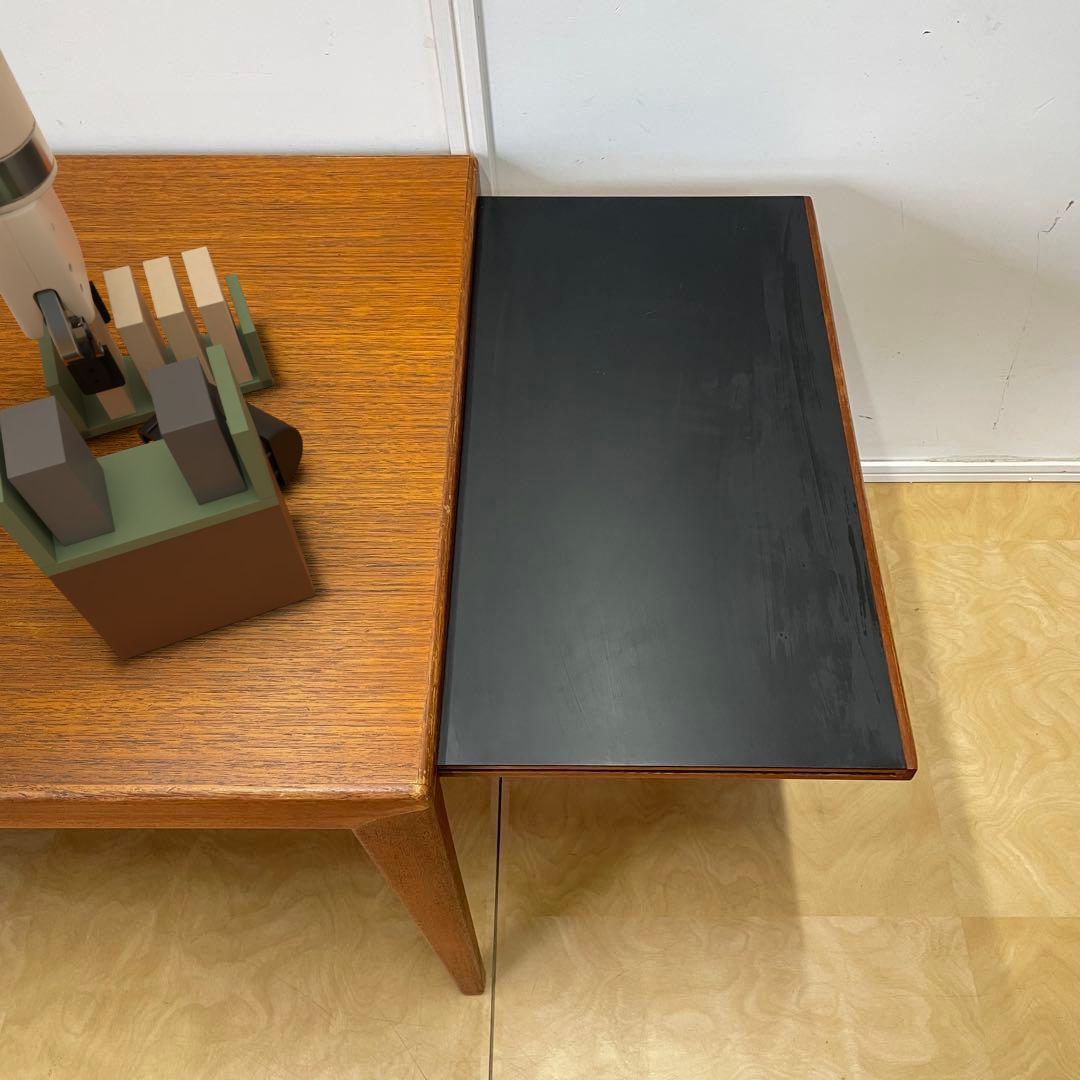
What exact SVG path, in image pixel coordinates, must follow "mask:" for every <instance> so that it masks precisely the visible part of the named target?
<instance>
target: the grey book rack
mask: <svg viewBox="0 0 1080 1080" xmlns="http://www.w3.org/2000/svg"><path fill="white" fill-rule="evenodd" d="M206 352H207V355H208V359H209V362H210V365H211V369H212V372H213V376H214V379H215V382H216V386H217V389H218V392H219V396H220V399H221V403H222V406H223V409H224V413H225V416H226V420H227V421H226V420H225V418H224V416H223V413H222V411H221V409H220V407H219V404H218V402H217V400H216V397H215V395H214V393H213V391H212V388H211V386H210V384H209V381H208V379H207V377H206V374H205V372H204V370H203V368H202V365H201V363H200V361H199V358H198V357H193V358H189V359H186V360H182V361H178V362H175V363H171V364H167V365H164V366H160V367H156V368H153V369H149V370H146V371H145V372H146V376H147V380H148V384H149V388H150V392H151V396H152V400H153V405H154V409H155V413H156V417H157V421H158V425H159V429H160V433H161V436H162V437H163V439H161V440H158V441H150V442H149V443H147V444H144V443H143V444H141V445H137V446H134V447H131V448H127V449H123V450H120V451H116V452H113V453H110V454H107V455H106V454H105V455H102V456H99V457H96V455H94V453H93V452H92V450H91V449H90V447H89V446H88V444H87V442H86V441H85V439H84V440H83V438H82V437H81V435H80V434H79V432H78V431H77V429H76V428H75V426H74V424H73V423H72V421H71V420H70V418H69V417H68V415H67V414H66V412H65V411H64V409H63V408H62V406H61V405H60V403H59V402H58V400H57V399H56V397H55V396H51V395H50V396H47V397H43V398H39V399H35V400H32V401H27V402H24V403H21V404H18V405H17V404H16V405H14V406H10V407H6V408H2V409H0V526H1V528H2V529H3V530H4V531H5V532H6V533H7V534H8V535H9V537H10V538H11V539H12V540H13V541H14V542H15V543H16V544H17V546H19V548H20V549H21V550H22V551H23V553H25V554H26V555H27V557H29V559H31V561H32V563H34V564H35V566H37V567H38V569H39V570H40V571H41V572H42V574H44V575H45V576H46V577H47V579H48V580H49V581H51V583H52V584H53V585H54V586H55V587H56V588H57V589H58V591H60V593H61V594H62V595H63V596H64V597H65V598H66V599H67V601H68V602H70V604H71V605H72V606H73V607H74V608H75V609H76V611H77V612H78V613H79V614H80V615H81V616H82V617H83V618H84V619H85V620H86V621H87V622H88V624H89V625H90V626H91V627H92V628H93V629H94V630H95V632H97V634H98V635H99V636H100V637H101V638H102V639H103V640H104V642H105V643H106V644H107V645H108V646H109V647H110V648H111V649H112V650H113V651H114V653H116V655H117V656H118V657H119V658H120V659H121V660H122V661H125V660H128V659H130V658H133V657H137V656H139V655H143V654H146V653H148V652H151V651H154V650H158V649H160V648H163V647H166V646H169V645H172V644H175V643H178V642H181V641H184V640H187V639H191V638H193V637H196V636H199V635H202V634H204V633H208V632H211V631H213V630H217V629H220V628H222V627H226V626H229V625H232V624H235V623H237V622H240V621H243V620H247V619H250V618H253V617H256V616H258V615H261V614H264V613H268V612H271V611H273V610H276V609H280V608H282V607H285V606H289V605H290V604H295V603H297V602H301V601H303V600H306V599H309V598H311V597H312V598H313V597H316V595H317V593H316V589H315V586H314V583H313V580H312V577H311V574H310V570H309V568H308V565H307V561H306V559H305V555H304V552H303V548H302V545H301V543H300V540H299V536H298V533H297V531H296V527H295V524H294V520H293V519H292V516H291V513H290V511H289V508H288V506H287V503H286V501H285V499H284V498H285V497H284V496H283V493H282V491H280V488H279V486H278V483H277V480H276V478H275V475H274V473H273V470H272V468H271V465H270V463H269V460H268V458H267V455H266V453H265V450H264V448H263V445H262V443H261V440H260V438H259V435H258V433H257V430H256V428H255V425H254V422H253V420H252V417H251V415H250V412H249V410H248V407H247V405H246V402H247V401H246V400H245V396H244V394H242V392H241V390H240V387H239V385H238V382H237V380H236V377H235V374H234V372H233V369H232V367H231V364H230V362H229V359H228V357H227V354H226V352H225V349H224V347H223V344H218V345H215V346H211V347H207V348H206Z"/></svg>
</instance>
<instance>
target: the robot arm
mask: <svg viewBox="0 0 1080 1080" xmlns="http://www.w3.org/2000/svg"><path fill="white" fill-rule="evenodd" d="M54 155H55V154H54V153H53V152H52V150H51V148H50V145H49V144H48V142H47V140H46V137H45V136H44V134H43V131H42V130H41V127H40V126H39V124H38V122H37V119H36V118H35V116H34V114H33V111H32V109H31V107H30V105H29V103H28V101H27V100H26V97H25V95H24V93H23V91H22V90H21V87H20V85H19V83H18V81H17V79H16V77H15V76H14V73H13V71H12V69H11V67H10V65H9V63H8V61H7V59H6V57H5V55H4V53H3V51H2V50H1V48H0V295H1V298H2V299H3V300H4V302H5V304H6V306H7V307H8V309H9V312H11V314H12V316H13V318H14V319H15V321H16V323H17V324H18V326H19V328H20V330H21V332H22V333H23V334H24V336H25V337H27V338H28V339H30V340H32V341H36V340H38V338H42V337H44V323H45V325H46V327H47V329H48V331H49V333H50V336H51V338H52V340H53V342H54V344H55V346H56V348H57V350H58V352H59V354H60V357H61V359H62V361H63V362H64V364H65V366H66V367H67V369H68V370H69V372H70V374H71V375H72V377H73V378H74V380H75V382H76V383H77V385H78V386H79V388H80V390H81V391H82V393H83V394H84V395H92V394H96V393H100V392H103V391H107V390H111V389H114V388H118V387H121V386H124V385H125V378H124V376H123V374H122V372H121V370H120V369H119V367H118V365H117V363H116V361H115V359H114V358H113V356H112V354H111V352H110V350H109V349H108V347H107V345H101V343H100V341H99V338H98V336H97V334H96V332H95V330H94V327H93V325H92V322H93V320H94V318H95V310H94V305H93V302H94V304H95V306H96V307H97V309H98V311H99V313H100V315H101V317H102V319H103V320H104V322H105V324H106V325H108V324H109V323H111V321H112V317H111V313H110V312H109V310H108V308H107V306H106V304H105V302H104V300H103V298H102V297H101V295H100V293H99V291H98V288H97V287H96V285H95V283H94V282H93V280H89V276H88V272H87V267H86V264H85V259H84V255H83V251H82V248H81V245H80V242H79V240H78V237H77V233H76V232H75V229H74V228H73V225H72V223H71V221H70V218H69V216H68V215H67V212H66V210H65V209H64V207H63V205H62V203H61V201H60V198H59V197H58V195H57V192H56V191H55V189H54V187H53V186H52V185H53V184H54V183H55V180H56V177H57V175H58V171H59V169H58V168H59V167H58V161H57V159H56V157H55V156H54ZM66 310H69V311H70V312H72V313H73V314H74V316H70V317H68V316H67V313H66ZM78 327H82V328H83V330H84V332H85V334H86V336H87V338H88V341H89V342H81V343H80V342H79V341H78V340H77V338H76V336H75V334H74V331H73V329H74V328H78Z"/></svg>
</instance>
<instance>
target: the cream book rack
mask: <svg viewBox="0 0 1080 1080" xmlns="http://www.w3.org/2000/svg"><path fill="white" fill-rule="evenodd" d="M180 253H181V257H182V261H183V264H184V267H185V270H186V274H187V277H188V281H189V284H190V288H191V291H192V294H193V298H194V302H195V304H196V308H197V310H198V313H199V316H200V317H201V321H202V322H203V325H204V327H205V330H206V332H207V334H202V333H201V330H200V328H199V326H198V324H197V322H196V319H195V316H194V314H193V312H192V309H191V307H190V305H189V302H188V299H187V298H186V295H185V293H184V290H183V288H182V285H181V283H180V281H179V278H178V276H177V274H176V271H175V269H174V266H173V264H172V262H171V260H170V257H169V256H168V255H166V256H165V255H164V256H161V257H158V258H154V259H150V260H145V261H142V266H143V271H144V274H145V278H146V281H147V285H148V289H149V293H150V297H151V301H152V305H153V309H154V313H155V316H156V319H157V321H158V323H159V325H160V328H161V330H162V332H163V334H164V336H165V339H166V340H167V343H168V344H167V343H166V341H165V339H164V336H163V335H162V332H161V330H160V328H159V326H158V324H157V322H156V320H155V317H154V315H153V313H152V311H151V309H150V307H149V305H148V303H147V301H146V298H145V297H144V294H143V293H142V290H141V288H140V285H139V284H138V281H137V279H136V277H135V275H134V273H133V271H132V269H131V267H130V266H129V265H125V266H121V267H116V268H112V269H109V270H105V271H102V275H103V279H104V283H105V287H106V292H107V297H108V300H109V305H110V310H111V313H112V319H113V321H114V326H115V327H114V328H115V330H116V331H117V334H118V335H119V337H120V339H121V341H122V343H123V345H124V346H125V349H126V351H127V353H128V355H125V356H123V358H124V362H125V366H126V371H127V375H128V379H129V383H130V388H131V392H132V396H133V401H134V405H135V409H136V413H134V414H131V415H127V416H124V417H120V418H116V419H113V420H111V418H110V417H109V415H108V413H107V412H106V410H105V408H104V407H103V405H102V403H101V402H100V400H99V398H98V397H97V395H96V394H92V395H84V394H83V393H82V391H81V390H80V388H79V386H78V385H77V383H76V382H75V380H74V378H73V377H72V375H71V374H70V372H69V370H68V369H67V367H66V366H65V364H64V362H63V361H62V359H61V357H60V354H59V352H58V350H57V348H56V346H55V344H54V342H53V340H52V338H51V336H50V333H49V331H48V329H47V327H46V325H45V323H44V337H42V338H37V342H38V349H39V354H40V361H41V366H42V373H43V379H44V384H45V388H46V390H47V391H48V393H49V395H50V396H55V397H56V399H57V400H58V402H59V403H60V405H61V406H62V408H63V409H64V411H65V412H66V414H67V415H68V417H69V418H70V420H71V421H72V423H73V424H74V426H75V428H76V429H77V431H78V432H79V434H80V435H81V437H82V438H83V440H84V441H85V440H86V439H91V438H94V437H98V436H100V435H104V434H107V433H111V432H115V431H118V430H121V429H126V428H129V427H132V426H136V425H139V424H144V423H146V422H147V421H148V420H149V419H150V418H151V417H152V416H153V415H154V414H155V409H154V405H153V400H152V396H151V392H150V388H149V384H148V380H147V376H146V372H145V371H146V370H149V369H153V368H156V367H160V366H164V365H167V364H171V363H175V362H178V361H182V360H186V359H189V358H193V357H198V358H199V361H200V363H201V365H202V368H203V370H204V372H205V374H206V377H207V379H208V381H209V383H211V384H213V385H215V386H216V382H215V379H214V376H213V372H212V369H211V365H210V362H209V359H208V355H207V352H206V348H207V347H211V346H215V345H218V344H223V347H224V349H225V352H226V354H227V357H228V359H229V362H230V364H231V367H232V369H233V372H234V374H235V377H236V380H237V382H238V385H239V387H240V390H241V392H242V395H245V394H249V393H252V392H255V391H259V390H264V389H266V388H270V387H273V386H275V382H274V379H273V376H272V373H271V370H270V367H269V365H268V361H267V358H266V355H265V353H264V350H263V346H262V344H261V340H260V338H259V334H258V332H257V328H256V325H255V324H254V320H253V318H252V314H251V311H250V309H249V305H248V303H247V300H246V297H245V294H244V291H243V289H242V286H241V283H240V279H239V277H238V274H237V273H233V274H229V275H225V276H224V280H225V283H226V286H227V289H228V292H229V295H230V298H231V301H232V304H233V307H234V311H235V313H236V317H237V319H238V322H239V325H236V322H235V320H234V317H233V314H232V312H231V309H230V306H229V303H228V300H227V298H226V295H225V293H224V290H223V287H222V285H221V282H220V279H219V276H218V273H217V271H216V268H215V266H214V263H213V260H212V257H211V255H210V252H209V250H208V247H207V246H206V245H205V246H202V247H198V248H194V249H190V250H189V249H188V250H186V251H185V250H184V251H182V252H180Z"/></svg>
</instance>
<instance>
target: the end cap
mask: <svg viewBox="0 0 1080 1080" xmlns="http://www.w3.org/2000/svg"><path fill="white" fill-rule="evenodd" d="M209 384H210V386H211V388H212V391H213V393H214V395H215V397H216V400H217V402H218V404H219V407H220V409H221V411H222V413H223V416H224V418H225V420H226V416H225V413H224V409H223V406H222V403H221V399H220V396H219V392H218V389H217V386H215V385H213V384H211V383H209ZM245 402H246V405H247V407H248V410H249V412H250V415H251V417H252V420H253V422H254V425H255V428H256V430H257V433H258V435H259V438H260V440H261V443H262V445H263V448H264V450H265V453H266V455H267V458H268V460H269V463H270V465H271V468H272V470H273V473H274V475H275V478H276V480H277V483H278V486H279V488H280V491H281V492H282V491H283V490H284V489H285V487H287V486H288V484H289V483H290V482H291V481H292V480H293V478H294V476H295V474H296V473H297V471H298V468H299V466H300V463H301V461H302V457H303V451H304V440H303V436H302V434H301V432H300V431H299V430H298V429H297V428H296V427H295V426H293V425H291V424H289V423H287V422H286V421H283V420H281V419H280V418H278V417H275V416H274V415H272V414H270V413H269V412H266V411H265V410H262V409H260V408H259V407H257V406H256V405H255V406H254V405H253V404H251V403H250V402H247V401H245ZM226 421H227V420H226ZM136 433H137V434H138V437H139V439H140V440H141V442H142V443H143V445H144V444H147V443H151V442H154V441H158V440H161V439H163V437H162V436H161V433H160V429H159V425H158V421H157V417H156V413H155V414H154V415H153V416H152V417H151V418H150V419H149V420H148V421H147V422H144V423H143V424H142V425H141V426H140V427H139V428H138V429H137V430H136Z"/></svg>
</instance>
